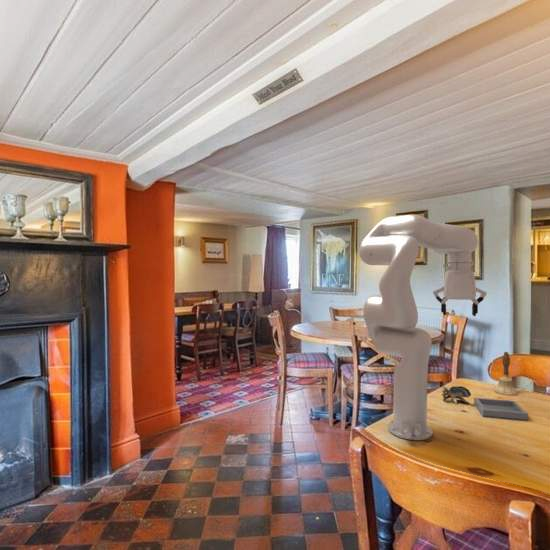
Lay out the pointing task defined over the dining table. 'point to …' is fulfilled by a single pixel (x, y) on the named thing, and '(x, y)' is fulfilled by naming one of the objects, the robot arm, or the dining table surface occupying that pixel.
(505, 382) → the hand bell
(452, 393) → the eagle figurine
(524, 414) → the holder
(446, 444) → the dining table surface
